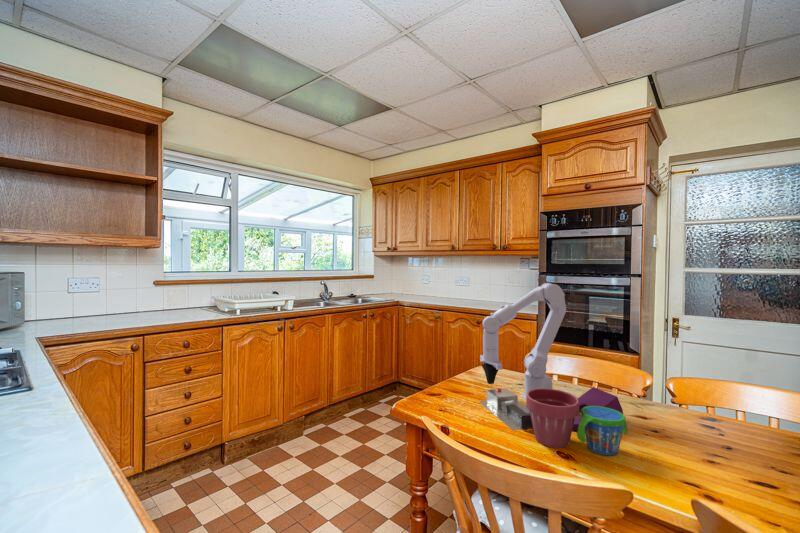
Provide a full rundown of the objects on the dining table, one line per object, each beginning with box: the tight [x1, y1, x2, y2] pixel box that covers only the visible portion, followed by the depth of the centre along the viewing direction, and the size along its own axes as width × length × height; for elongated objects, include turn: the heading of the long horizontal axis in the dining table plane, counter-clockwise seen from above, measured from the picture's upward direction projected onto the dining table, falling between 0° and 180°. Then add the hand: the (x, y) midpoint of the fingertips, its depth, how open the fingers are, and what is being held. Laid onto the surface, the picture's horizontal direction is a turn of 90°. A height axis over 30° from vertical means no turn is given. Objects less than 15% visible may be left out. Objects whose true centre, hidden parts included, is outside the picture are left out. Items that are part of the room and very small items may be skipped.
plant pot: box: [525, 388, 580, 449], centre depth 106 cm, size 14×14×13 cm
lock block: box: [486, 387, 519, 410], centre depth 133 cm, size 8×8×5 cm
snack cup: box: [576, 406, 628, 456], centre depth 101 cm, size 16×10×10 cm
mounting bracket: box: [572, 386, 624, 431], centre depth 117 cm, size 9×8×18 cm
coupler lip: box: [478, 400, 533, 431], centre depth 125 cm, size 14×24×4 cm, turn 13°
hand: (490, 383), depth 141 cm, fingers closed
